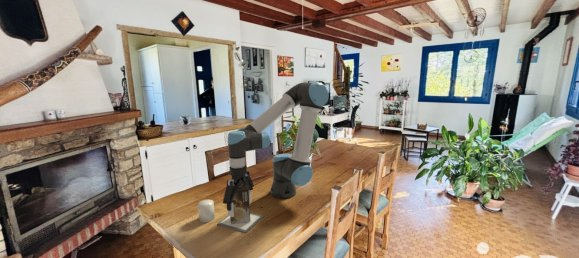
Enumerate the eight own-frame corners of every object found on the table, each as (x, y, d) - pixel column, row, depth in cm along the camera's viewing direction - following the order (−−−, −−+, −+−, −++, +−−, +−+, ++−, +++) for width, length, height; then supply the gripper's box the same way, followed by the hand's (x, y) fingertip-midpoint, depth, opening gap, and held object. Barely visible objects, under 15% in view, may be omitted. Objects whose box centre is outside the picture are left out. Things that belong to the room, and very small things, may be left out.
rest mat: (236, 210, 126) (236, 209, 125) (263, 217, 119) (263, 216, 119) (217, 224, 113) (217, 223, 113) (246, 233, 106) (246, 231, 106)
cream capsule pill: (206, 213, 123) (205, 198, 121) (217, 216, 120) (216, 201, 118) (196, 220, 117) (194, 204, 115) (207, 224, 114) (206, 208, 112)
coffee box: (249, 214, 120) (248, 183, 117) (250, 222, 114) (249, 189, 111) (230, 217, 118) (228, 185, 115) (230, 224, 112) (228, 191, 109)
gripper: (247, 156, 123) (248, 196, 127) (211, 173, 101) (215, 220, 105) (259, 158, 120) (261, 199, 124) (226, 176, 98) (229, 224, 102)
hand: (240, 209), depth 115 cm, fingers open, 13 cm apart
